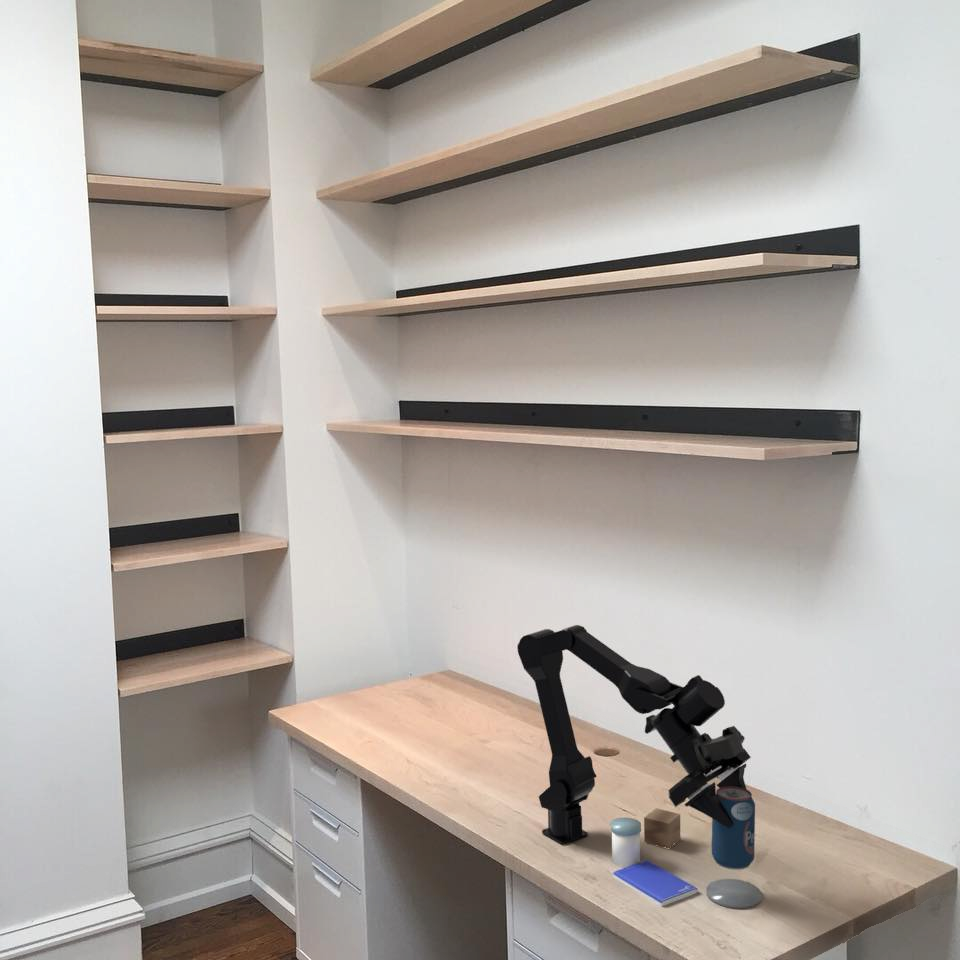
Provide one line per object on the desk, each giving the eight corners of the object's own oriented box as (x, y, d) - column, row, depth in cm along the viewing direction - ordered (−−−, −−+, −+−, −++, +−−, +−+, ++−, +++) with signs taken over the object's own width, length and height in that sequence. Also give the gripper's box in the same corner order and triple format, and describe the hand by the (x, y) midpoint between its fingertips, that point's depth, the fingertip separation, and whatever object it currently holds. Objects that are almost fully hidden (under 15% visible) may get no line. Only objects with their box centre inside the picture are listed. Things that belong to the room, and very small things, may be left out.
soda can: (756, 872, 170) (757, 801, 169) (713, 870, 171) (714, 798, 170) (751, 855, 177) (753, 786, 176) (710, 852, 178) (711, 783, 177)
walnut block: (644, 843, 194) (644, 817, 194) (656, 833, 199) (656, 808, 198) (668, 849, 192) (668, 823, 191) (680, 839, 196) (680, 814, 195)
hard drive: (697, 886, 175) (648, 859, 186) (661, 900, 171) (613, 871, 181) (697, 895, 175) (648, 867, 186) (661, 909, 171) (613, 880, 181)
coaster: (695, 892, 175) (695, 889, 175) (731, 877, 180) (731, 873, 180) (736, 914, 168) (736, 910, 168) (773, 897, 173) (773, 894, 173)
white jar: (604, 859, 188) (604, 822, 187) (627, 851, 191) (626, 815, 190) (625, 871, 184) (624, 833, 183) (647, 862, 187) (647, 825, 186)
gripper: (685, 729, 167) (746, 814, 161) (740, 701, 181) (799, 778, 175) (643, 765, 173) (701, 847, 167) (700, 735, 187) (756, 810, 181)
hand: (741, 819), depth 172 cm, fingers closed on soda can, 7 cm apart
